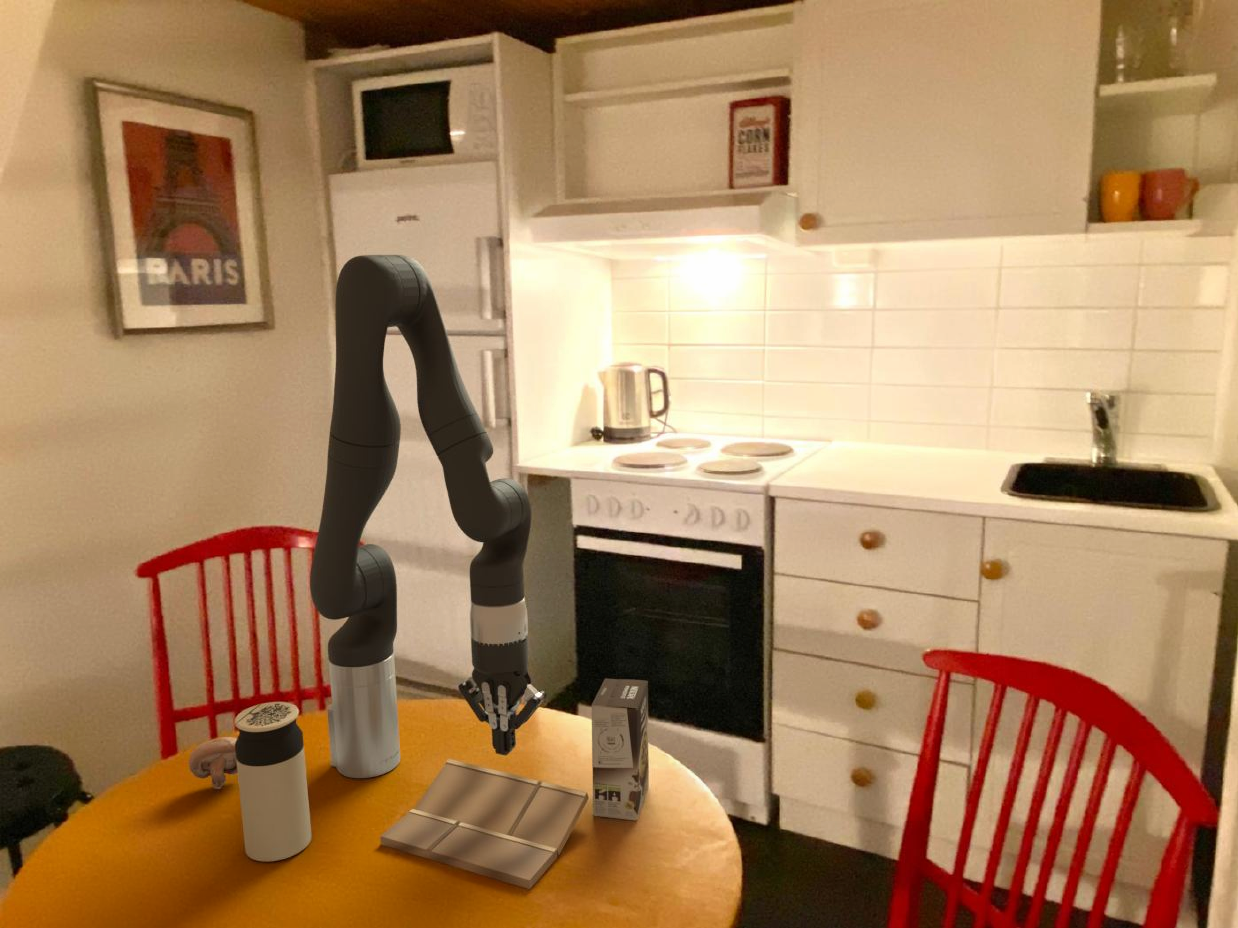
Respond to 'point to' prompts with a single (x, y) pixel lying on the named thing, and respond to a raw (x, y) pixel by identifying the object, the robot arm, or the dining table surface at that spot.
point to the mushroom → (214, 760)
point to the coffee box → (620, 748)
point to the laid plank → (470, 848)
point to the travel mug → (272, 781)
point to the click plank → (504, 803)
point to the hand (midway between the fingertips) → (504, 751)
